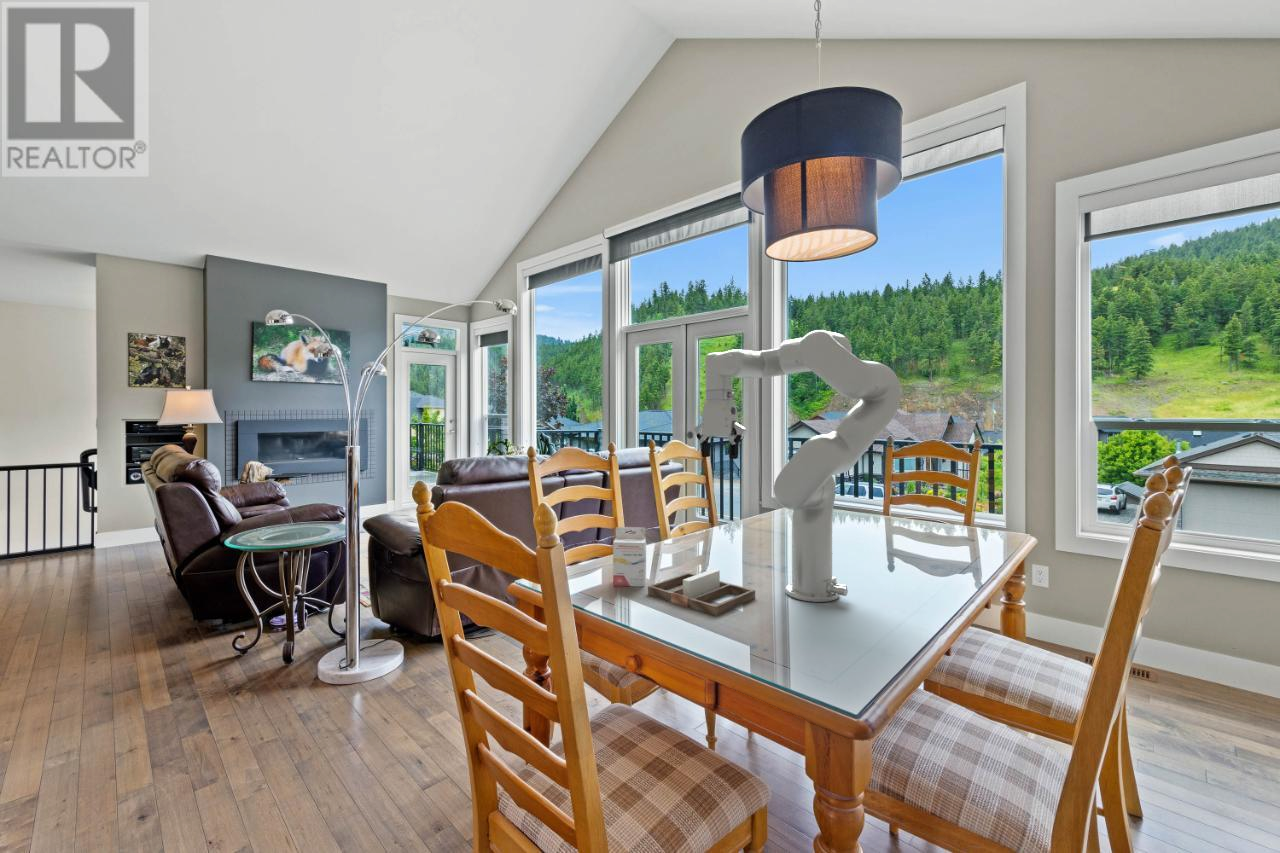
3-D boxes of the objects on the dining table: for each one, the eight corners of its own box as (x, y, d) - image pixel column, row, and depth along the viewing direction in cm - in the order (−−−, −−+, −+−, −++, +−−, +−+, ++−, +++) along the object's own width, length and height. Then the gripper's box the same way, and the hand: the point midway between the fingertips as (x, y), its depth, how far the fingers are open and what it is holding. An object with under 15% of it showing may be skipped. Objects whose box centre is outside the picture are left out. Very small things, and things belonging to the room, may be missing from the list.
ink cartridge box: (612, 586, 144) (611, 530, 144) (615, 580, 149) (614, 526, 149) (645, 587, 143) (644, 530, 143) (646, 581, 148) (646, 526, 148)
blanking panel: (719, 590, 139) (719, 570, 139) (689, 602, 131) (689, 581, 131) (713, 588, 141) (713, 569, 140) (683, 600, 132) (682, 579, 132)
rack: (755, 598, 133) (755, 588, 133) (715, 616, 122) (715, 605, 122) (688, 580, 148) (688, 571, 148) (647, 594, 137) (647, 584, 137)
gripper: (752, 396, 151) (753, 458, 151) (703, 397, 163) (703, 455, 164) (736, 396, 146) (737, 460, 146) (686, 397, 158) (687, 457, 158)
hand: (719, 457), depth 155 cm, fingers open, 9 cm apart
